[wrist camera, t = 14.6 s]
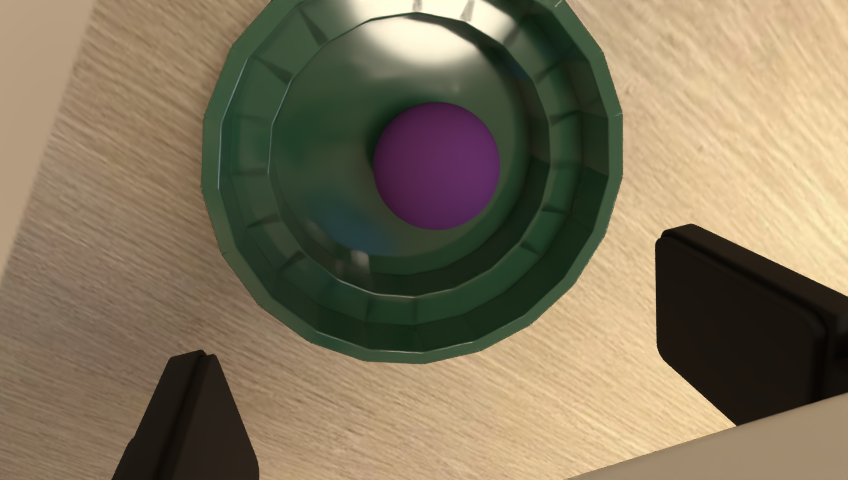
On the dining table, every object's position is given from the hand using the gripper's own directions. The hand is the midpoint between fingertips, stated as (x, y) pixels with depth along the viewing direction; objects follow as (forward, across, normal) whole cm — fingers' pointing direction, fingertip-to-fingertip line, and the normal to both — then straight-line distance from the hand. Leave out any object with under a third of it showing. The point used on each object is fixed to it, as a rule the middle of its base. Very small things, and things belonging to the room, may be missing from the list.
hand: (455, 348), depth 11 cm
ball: (+11, -2, -1) cm, 11 cm away
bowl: (+14, -2, -1) cm, 14 cm away
